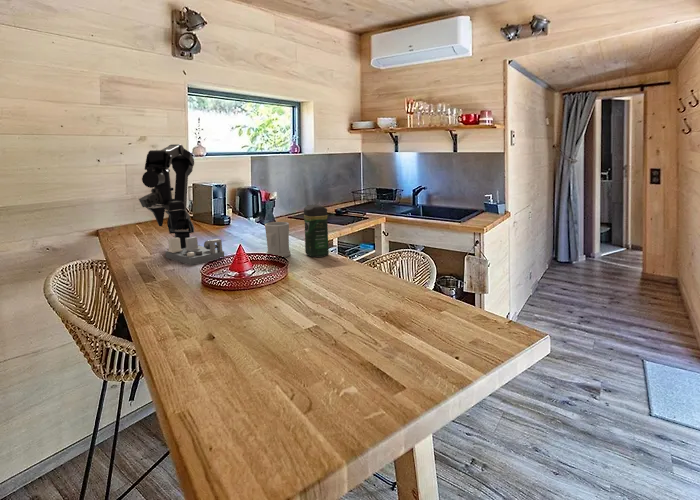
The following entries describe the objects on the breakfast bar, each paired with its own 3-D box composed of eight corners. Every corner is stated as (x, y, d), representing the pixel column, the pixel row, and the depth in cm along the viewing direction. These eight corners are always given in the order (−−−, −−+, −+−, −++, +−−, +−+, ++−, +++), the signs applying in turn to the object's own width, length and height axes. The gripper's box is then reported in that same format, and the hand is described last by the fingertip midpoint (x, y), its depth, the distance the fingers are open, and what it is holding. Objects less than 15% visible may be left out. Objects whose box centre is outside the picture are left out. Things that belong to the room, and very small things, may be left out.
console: (165, 257, 174) (163, 239, 172) (198, 251, 183) (197, 233, 182) (190, 265, 162) (188, 245, 160) (224, 257, 172) (223, 239, 170)
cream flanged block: (167, 251, 172) (166, 238, 171) (177, 249, 175) (176, 237, 174) (173, 252, 169) (171, 239, 168) (182, 251, 172) (181, 238, 171)
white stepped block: (184, 250, 173) (183, 237, 172) (194, 248, 175) (193, 236, 174) (190, 252, 170) (189, 239, 169) (199, 250, 173) (198, 237, 172)
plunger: (204, 249, 172) (203, 241, 172) (211, 248, 175) (210, 239, 174) (212, 251, 169) (211, 243, 168) (220, 250, 171) (219, 241, 170)
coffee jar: (331, 256, 170) (330, 205, 166) (311, 258, 167) (308, 207, 163) (322, 251, 179) (321, 202, 175) (303, 253, 176) (300, 204, 172)
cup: (293, 258, 169) (291, 225, 166) (268, 260, 166) (266, 227, 164) (288, 252, 179) (287, 221, 176) (264, 254, 176) (262, 222, 173)
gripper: (128, 186, 170) (133, 228, 174) (154, 188, 159) (159, 233, 162) (157, 183, 179) (161, 223, 182) (183, 185, 167) (188, 228, 170)
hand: (167, 227), depth 174 cm, fingers open, 9 cm apart
